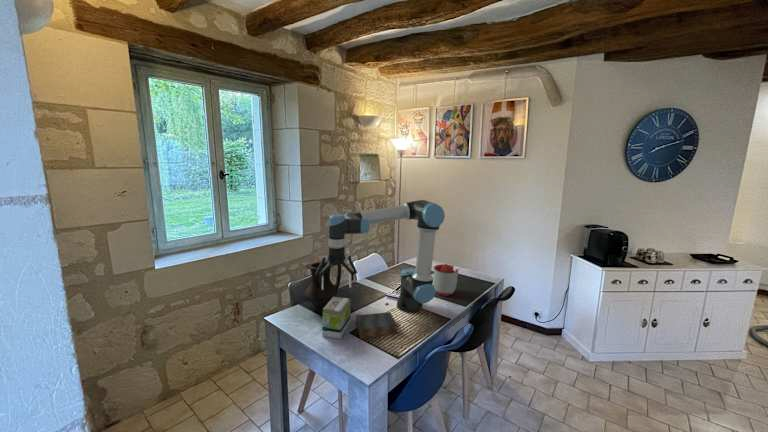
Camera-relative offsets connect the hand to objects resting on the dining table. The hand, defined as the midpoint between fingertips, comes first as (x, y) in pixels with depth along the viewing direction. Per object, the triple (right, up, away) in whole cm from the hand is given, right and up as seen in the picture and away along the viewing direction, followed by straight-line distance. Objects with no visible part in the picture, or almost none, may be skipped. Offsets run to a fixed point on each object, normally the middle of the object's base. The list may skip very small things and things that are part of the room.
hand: (336, 287), depth 158 cm
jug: (-12, -18, +27) cm, 34 cm away
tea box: (0, -23, +4) cm, 23 cm away
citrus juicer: (+64, -15, +53) cm, 85 cm away
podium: (+20, -23, +7) cm, 31 cm away
